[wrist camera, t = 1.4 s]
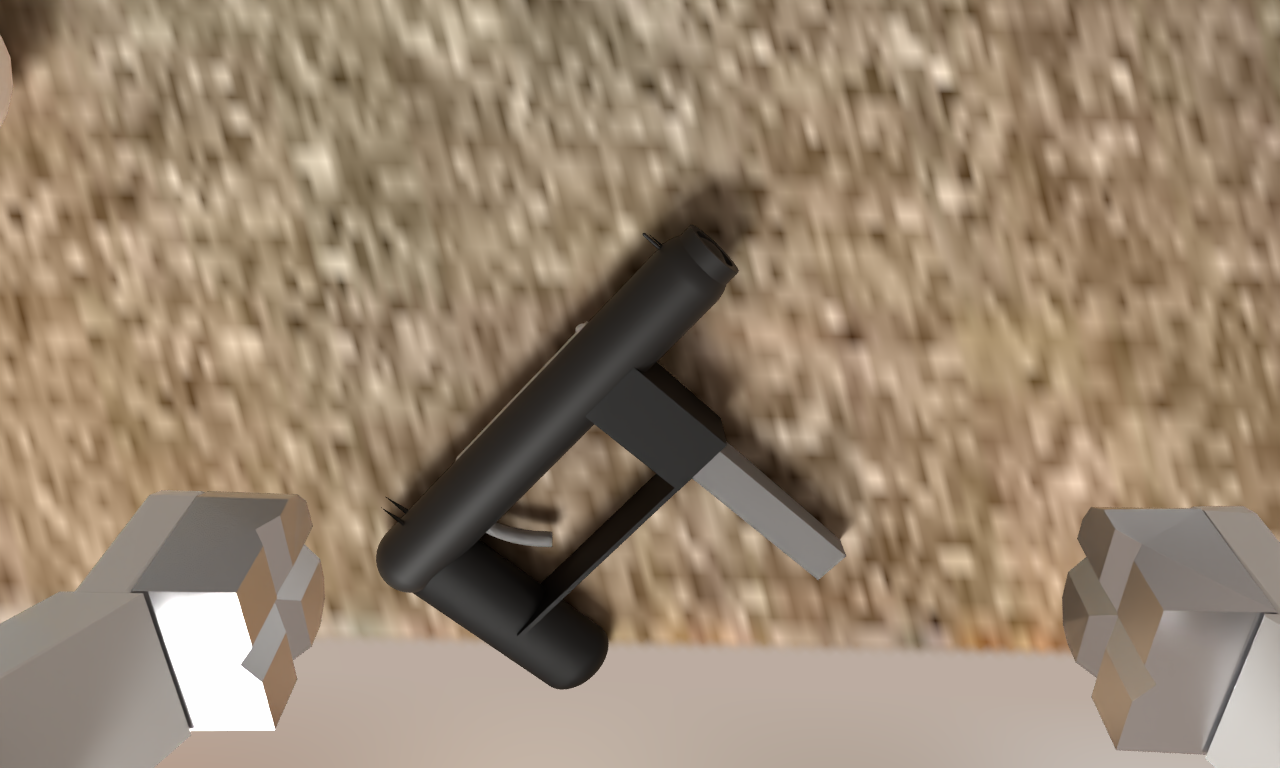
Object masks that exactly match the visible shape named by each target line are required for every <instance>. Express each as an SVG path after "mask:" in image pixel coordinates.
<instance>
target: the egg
mask: <svg viewBox="0 0 1280 768" xmlns="http://www.w3.org/2000/svg"><path fill="white" fill-rule="evenodd" d="M12 90H13V79H12V68H11V58H10V55H9V53H8V51H7V48H6V46H5V44H4V41H3V39H2V37H1V35H0V127H1V126H2V124H3V122H4V120H5V118H6V116H7V113H8V109H9V104H10V100H11V95H12Z"/></svg>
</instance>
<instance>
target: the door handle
mask: <svg viewBox="0 0 1280 768" xmlns="http://www.w3.org/2000/svg"><path fill="white" fill-rule="evenodd" d="M643 236H644V237H645V238H646V239H647V240H649V241H650V242H651V243H652V244H653V245H654V246H655V247H656V248H658V250H657V251H656V252H655V253H654V254H653V255H652V256H651V257H650V258H649V259H648V260H647V261H646V262H645V264H644V265H643V266H642V267H641V268H640V269H639V270H638V271H637V272H636V273H635V274H634V275H633V276H632V277H631V278H630V279H629V280H628V281H627V282H626V283H625V284H624V285H623V287H622V288H621V289H620V290H619V291H618V292H617V293H616V294H615V295H614V296H613V297H612V298H611V299H610V300H609V301H608V302H607V303H606V304H605V305H604V306H603V307H602V309H601V310H600V311H599V312H598V313H597V314H596V315H595V316H594V317H593V318H592V319H591V320H590V321H589V322H588V321H586V322H585V323H584V324H579V325H578V326H577V327H576V329H575V332H576V333H575V334H574V335H573V336H572V337H571V338H570V339H569V340H568V341H567V342H566V343H565V344H564V345H563V346H562V347H561V348H560V349H559V350H558V352H557V353H556V354H555V355H554V356H553V357H552V358H551V359H550V360H549V361H548V362H547V363H546V364H545V365H544V366H543V367H542V368H541V369H540V370H539V371H538V372H537V374H536V375H535V376H534V377H533V378H532V379H531V380H530V381H529V382H528V383H527V384H526V385H525V386H524V387H523V388H522V389H521V390H520V391H519V392H518V393H517V395H516V396H515V397H514V398H513V399H512V400H511V401H510V402H509V403H508V404H507V405H506V406H505V407H504V408H503V409H502V410H501V411H500V412H499V413H498V414H497V415H496V417H495V418H494V419H493V420H492V421H491V422H490V423H489V424H488V425H487V426H486V427H485V428H484V429H483V430H482V431H481V432H480V433H479V434H478V435H477V436H476V438H475V439H474V440H473V441H472V442H471V443H470V444H469V445H468V446H467V447H466V448H465V449H464V450H463V451H462V452H461V453H460V454H459V455H458V456H457V457H456V461H455V462H454V463H453V464H452V465H451V467H450V468H449V469H448V470H447V471H446V472H445V473H444V474H443V475H442V476H441V477H440V478H439V479H438V480H437V481H436V482H435V483H434V484H433V485H432V486H431V487H430V488H429V490H428V491H427V492H426V493H425V494H424V495H423V496H422V497H421V498H420V499H419V500H418V501H417V502H416V503H415V504H414V505H413V506H412V507H411V508H410V509H409V510H407V509H406V508H404V507H402V506H401V505H399V504H397V503H396V502H394V501H392V500H390V499H389V498H388V499H389V500H390V501H391V502H392V503H393V504H395V505H396V506H397V507H398V508H399V509H401V510H402V511H403V512H404V513H405V515H404V516H403V517H402V518H401V519H400V518H398V517H397V516H395V515H393V514H392V513H390V512H388V511H386V510H385V509H383V508H382V509H383V510H385V511H386V512H387V513H388V514H389V515H391V516H392V517H393V518H394V519H395V520H397V521H398V522H397V523H396V524H395V525H394V526H393V527H392V528H391V529H390V530H389V531H388V532H387V533H386V535H385V536H384V537H383V538H382V540H381V542H380V544H379V546H378V550H377V555H376V562H377V567H378V571H379V573H380V575H381V577H382V578H383V579H384V581H385V582H386V583H387V584H388V585H390V586H391V587H393V588H394V589H396V590H399V591H402V592H409V593H414V594H415V595H417V596H418V597H420V598H421V599H423V600H424V601H426V602H427V603H428V604H430V605H431V606H433V607H434V608H436V609H437V610H439V611H440V612H442V613H443V614H445V615H446V616H448V617H449V618H451V619H452V620H453V621H455V622H456V623H458V624H459V625H461V626H462V627H464V628H465V629H467V630H468V631H470V632H471V633H473V634H474V635H476V636H477V637H479V638H480V639H481V640H483V641H484V642H486V643H487V644H489V645H490V646H492V647H493V648H495V649H496V650H498V651H499V652H501V653H502V654H504V655H505V656H507V657H508V658H509V659H511V660H512V661H514V662H515V663H517V664H518V665H520V666H521V667H523V668H524V669H526V670H527V671H529V672H530V673H532V674H533V675H535V676H536V677H538V678H539V679H541V680H542V681H543V682H545V683H546V684H548V685H549V686H551V687H553V688H556V689H569V688H574V687H576V686H579V685H581V684H583V683H584V682H586V681H587V680H588V679H590V678H591V677H592V676H593V675H594V674H595V673H596V672H597V671H598V670H599V668H600V667H601V665H602V664H603V662H604V660H605V658H606V655H607V651H608V637H607V635H606V633H605V631H604V630H603V629H602V628H601V627H600V626H598V625H597V624H596V623H594V622H593V621H591V620H590V619H589V618H587V617H586V616H584V615H583V614H582V613H580V612H579V611H577V610H576V609H575V608H573V607H572V606H570V605H569V604H568V603H566V602H565V601H564V600H562V599H563V598H564V597H565V596H566V595H567V594H569V593H570V592H571V591H572V590H573V589H574V588H575V587H576V586H577V585H578V584H579V583H580V582H581V581H582V580H583V579H585V578H586V577H587V576H588V575H589V574H590V573H591V572H592V571H593V570H594V569H595V568H596V567H597V566H598V565H599V564H601V563H602V562H603V561H604V560H605V559H606V558H607V557H608V556H609V555H610V554H611V553H612V552H613V551H614V550H615V549H617V548H618V547H619V546H620V545H621V544H622V543H623V542H624V541H625V540H626V539H627V538H628V537H629V536H630V535H631V534H632V533H634V532H635V531H636V530H637V529H638V528H639V527H640V526H641V525H642V524H643V523H644V522H645V521H646V520H647V519H648V518H650V517H651V516H652V515H653V514H654V513H655V512H656V511H657V510H658V509H659V508H660V507H661V506H662V505H663V504H664V503H666V502H667V501H668V500H669V499H670V498H671V497H672V496H673V495H674V494H675V493H676V492H677V491H679V490H680V489H681V488H682V487H683V486H684V485H685V484H686V483H687V482H688V481H689V480H691V479H694V480H695V481H696V482H697V483H699V484H700V485H701V486H702V487H704V488H705V489H706V490H707V491H709V492H710V493H711V494H712V495H714V496H715V497H716V498H717V499H718V500H720V501H721V502H722V503H723V504H725V505H726V506H727V507H728V508H730V509H731V510H732V511H733V512H735V513H736V514H737V515H738V516H740V517H741V518H742V519H743V520H744V521H746V522H747V523H748V524H749V525H751V526H752V527H753V528H754V529H756V530H757V531H758V532H759V533H761V534H762V535H763V536H764V537H766V538H767V539H768V540H769V541H771V542H772V543H773V544H774V545H775V546H777V547H778V548H779V549H780V550H782V551H783V552H784V553H785V554H787V555H788V556H789V557H790V558H792V559H793V560H794V561H795V562H797V563H798V564H799V565H800V566H801V567H803V568H804V569H805V570H806V571H808V572H809V573H810V574H811V575H813V576H814V577H815V578H816V579H818V580H819V579H820V578H821V577H822V576H823V575H825V574H826V573H827V572H828V571H829V570H831V569H832V568H833V567H834V566H835V565H836V564H838V563H839V562H840V561H841V560H842V559H843V558H845V557H846V554H845V552H844V549H843V546H842V544H841V541H840V539H839V538H837V537H836V536H835V535H834V534H833V533H832V532H831V531H829V530H828V529H827V528H826V527H825V526H824V525H822V524H821V523H820V522H819V521H818V520H817V519H816V518H814V517H813V516H812V515H811V514H810V513H809V512H807V511H806V510H805V509H804V508H803V507H802V506H801V505H799V504H798V503H797V502H796V501H795V500H794V499H792V498H791V497H790V496H789V495H788V494H787V493H786V492H784V491H783V490H782V489H781V488H780V487H779V486H777V485H776V484H775V483H774V482H773V481H772V480H771V479H769V478H768V477H767V476H766V475H765V474H764V473H762V472H761V471H760V470H759V469H758V468H757V467H756V466H754V465H753V464H752V463H751V462H750V461H749V460H747V459H746V458H745V457H744V456H743V455H742V454H741V453H739V452H738V451H737V450H736V449H735V448H733V447H732V446H731V445H730V444H729V443H727V442H726V438H725V434H724V430H723V426H722V421H721V418H720V417H719V416H718V415H717V414H715V413H714V412H713V411H712V410H711V409H710V408H709V407H707V406H706V405H705V404H704V403H703V402H702V401H701V400H699V399H698V398H697V397H696V396H695V395H694V394H693V393H691V392H690V391H689V390H688V389H687V388H686V387H685V386H683V385H682V384H681V383H680V382H679V381H678V380H677V379H675V378H674V377H673V376H672V375H671V374H670V373H669V372H667V371H666V370H665V369H664V368H663V367H662V366H661V365H659V364H658V363H657V361H658V360H659V359H660V358H661V357H662V356H663V355H664V354H665V353H666V352H667V351H668V350H669V349H670V348H671V347H672V346H673V345H674V344H675V343H676V342H677V341H678V340H679V339H680V338H681V337H682V336H683V335H684V334H685V333H686V332H687V331H688V330H689V329H690V328H691V327H692V326H693V325H694V324H695V323H696V322H697V321H698V320H699V319H700V318H701V317H702V316H703V315H704V314H705V313H706V312H707V311H708V310H709V309H710V308H711V307H712V306H713V305H714V304H715V303H716V302H717V301H718V300H719V298H720V297H721V295H722V294H723V292H724V290H725V287H726V284H727V283H728V282H729V281H730V280H731V279H732V278H733V277H734V276H735V275H736V274H737V273H738V272H739V271H738V268H737V267H736V265H735V264H734V262H733V261H732V260H731V259H730V258H729V256H728V255H727V254H726V253H725V252H724V251H723V250H722V249H721V248H720V247H719V246H718V245H717V244H716V243H715V242H714V241H713V240H712V239H711V238H710V237H709V236H708V235H706V234H705V233H704V232H703V231H701V230H700V229H699V228H697V227H696V226H694V225H690V226H689V227H688V228H687V229H686V231H685V232H684V233H683V234H682V235H681V236H678V237H675V238H672V239H670V240H669V241H667V242H666V243H664V244H663V245H662V244H661V243H659V242H658V241H657V240H656V239H654V238H653V237H652V236H651V235H650V236H651V237H652V238H653V239H654V240H655V241H656V242H657V243H658V244H659V245H660V246H661V247H660V246H659V245H658V244H657V243H656V242H655V241H653V240H652V239H651V238H650V237H649V236H648V235H647V234H646V233H643ZM594 424H595V425H596V426H598V427H599V428H600V429H601V430H603V431H604V432H605V433H606V434H608V435H609V436H610V437H611V438H613V439H614V440H615V441H616V442H618V443H619V444H620V445H621V446H623V447H624V448H625V449H626V450H628V451H629V452H630V453H631V454H633V455H634V456H635V457H636V458H638V459H639V460H640V461H642V462H643V463H644V464H645V465H647V466H648V467H649V468H650V469H652V470H653V471H654V472H655V473H657V474H656V475H654V476H653V477H652V478H651V479H650V480H649V481H648V482H647V483H646V484H645V485H644V486H643V487H642V488H641V489H640V490H639V491H638V492H637V493H636V494H635V495H633V496H632V497H631V498H630V499H629V500H628V501H627V502H626V503H625V504H624V505H623V506H622V507H621V508H620V509H619V510H618V511H617V512H616V513H615V514H614V515H613V516H611V517H610V518H609V519H608V520H607V521H606V522H605V523H604V524H603V525H602V526H601V527H600V528H599V529H598V530H597V531H596V532H595V533H594V534H593V535H592V536H590V537H589V538H588V539H587V540H586V541H585V542H584V543H583V544H582V545H581V546H580V547H579V548H578V549H577V550H576V551H575V552H574V553H573V554H572V555H571V556H570V557H568V558H567V559H566V560H565V561H564V562H563V563H562V564H561V565H560V566H559V567H558V568H557V569H556V570H555V571H554V572H553V573H552V574H551V575H550V576H549V577H548V578H546V579H545V580H544V581H543V582H542V583H541V584H540V583H538V582H537V581H536V580H534V579H533V578H531V577H530V576H529V575H527V574H526V573H524V572H523V571H522V570H520V569H519V568H517V567H516V566H515V565H513V564H512V563H510V562H509V561H508V560H506V559H505V558H503V557H502V556H501V555H499V554H498V553H497V552H495V551H494V550H492V549H491V548H490V547H488V546H487V545H485V544H484V543H483V542H481V541H480V540H479V539H480V538H481V537H482V536H483V535H484V534H485V533H487V534H489V535H491V536H494V537H496V538H499V539H501V540H505V541H508V542H512V543H516V544H522V545H528V546H538V547H552V532H548V531H532V530H524V529H518V528H513V527H509V526H505V525H502V524H499V523H496V522H497V521H498V520H499V519H500V518H501V517H502V516H503V515H504V514H505V513H506V512H507V511H508V510H509V509H510V508H511V507H512V506H513V505H514V504H515V503H516V502H517V501H518V500H519V499H520V498H521V497H522V496H523V495H524V494H525V493H526V492H527V491H528V490H529V489H530V488H531V487H532V486H533V485H534V484H535V483H536V482H537V481H538V480H539V479H540V478H541V477H542V476H543V475H544V474H545V473H546V472H547V471H548V470H549V469H550V468H551V467H552V466H553V465H554V464H555V463H556V462H557V461H558V460H559V459H560V458H561V457H562V456H563V455H564V454H565V453H566V452H567V451H568V450H569V449H570V448H571V447H572V446H573V445H574V444H575V443H576V442H577V441H578V440H579V439H580V438H581V437H582V436H583V435H584V434H585V433H586V432H587V431H588V430H589V429H590V428H591V427H592V426H593V425H594ZM386 498H387V497H386Z"/></svg>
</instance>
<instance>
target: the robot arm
mask: <svg viewBox="0 0 1280 768" xmlns="http://www.w3.org/2000/svg"><path fill="white" fill-rule="evenodd" d="M312 527H313V525H312V521H311V517H310V513H309V510H308V506H307V502H306V501H305V500H304V499H303V498H302V497H300V496H299V495H298V494H271V493H244V492H217V491H207V492H202V491H169V490H161V491H159V492H156V493H154V494H151V495H149V496H148V497H147V498H146V500H145V501H144V502H143V504H142V505H141V506H140V508H139V509H138V510H137V511H136V513H135V514H134V515H133V517H132V518H131V519H130V520H129V522H128V523H127V524H126V526H125V527H124V528H123V530H122V531H121V532H120V533H119V535H118V536H117V537H116V539H115V540H114V541H113V543H112V544H111V545H110V546H109V548H108V549H107V550H106V552H105V553H104V554H103V556H102V557H101V558H100V559H99V561H98V562H97V563H96V565H95V566H94V567H93V568H92V570H91V571H90V572H89V574H88V575H87V576H86V578H85V579H84V580H83V581H82V583H81V584H80V585H79V587H78V588H77V589H76V591H75V592H58V593H56V594H54V595H53V596H51V597H49V598H47V599H45V600H43V601H41V602H40V603H38V604H36V605H34V606H32V607H30V608H28V609H27V610H25V611H23V612H21V613H19V614H17V615H15V616H14V617H12V618H10V619H8V620H6V621H4V622H3V623H1V624H0V768H154V767H155V766H156V765H158V763H160V762H161V761H162V760H163V759H164V758H165V757H167V756H168V755H169V754H170V753H171V752H172V751H174V750H175V749H176V748H177V747H178V746H179V745H180V744H181V743H183V742H184V741H185V740H186V739H187V738H188V737H190V736H191V732H190V730H275V729H276V726H277V724H278V722H279V720H280V717H281V715H282V713H283V710H284V708H285V706H286V704H287V701H288V699H289V697H290V695H291V693H292V690H293V688H294V686H295V684H296V681H297V676H296V672H295V667H294V663H293V660H294V659H295V658H296V657H298V656H299V655H301V654H302V653H304V652H305V651H306V650H308V649H309V648H310V647H312V644H313V642H314V639H315V637H316V635H317V632H318V630H319V627H320V624H321V618H322V612H323V606H324V600H325V593H324V575H323V571H322V566H321V561H320V559H319V558H318V557H317V556H316V555H315V554H314V553H313V552H312V551H311V550H310V549H309V548H308V547H307V546H305V545H304V543H305V541H306V539H307V537H308V535H309V533H310V531H311V529H312ZM1077 539H1078V541H1079V543H1080V545H1081V547H1082V549H1083V551H1084V553H1085V555H1086V558H1085V559H1083V560H1082V561H1081V562H1080V563H1079V564H1077V565H1076V566H1075V567H1074V568H1073V569H1071V570H1070V571H1069V572H1068V575H1067V579H1066V584H1065V588H1064V593H1063V597H1062V604H1063V626H1064V630H1065V634H1066V639H1067V643H1068V645H1069V648H1070V650H1071V652H1072V655H1073V657H1074V659H1075V662H1076V663H1077V664H1079V665H1080V666H1081V667H1083V668H1084V669H1086V670H1087V671H1088V672H1090V673H1091V674H1092V675H1094V676H1095V677H1096V678H1097V679H1096V683H1095V686H1094V690H1093V693H1092V699H1093V701H1094V703H1095V706H1096V707H1097V710H1098V712H1099V714H1100V716H1101V719H1102V721H1103V723H1104V725H1105V727H1106V729H1107V731H1108V734H1109V736H1110V738H1111V740H1112V742H1113V744H1114V747H1115V749H1116V750H1124V751H1143V752H1163V753H1183V754H1203V755H1205V754H1206V757H1205V759H1206V760H1207V761H1208V762H1209V763H1211V764H1212V765H1213V766H1214V767H1215V768H1280V542H1279V541H1278V540H1277V538H1276V537H1275V536H1274V535H1273V534H1272V532H1271V531H1270V530H1269V529H1268V527H1267V526H1266V525H1265V524H1264V522H1263V521H1262V520H1261V519H1260V517H1259V516H1258V515H1257V514H1256V513H1255V512H1253V511H1252V510H1250V509H1248V508H1246V507H1244V506H1205V507H1191V508H1112V507H1091V508H1090V509H1089V511H1088V512H1087V514H1086V515H1085V517H1084V518H1083V520H1082V524H1081V527H1080V531H1079V534H1078V538H1077Z"/></svg>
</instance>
